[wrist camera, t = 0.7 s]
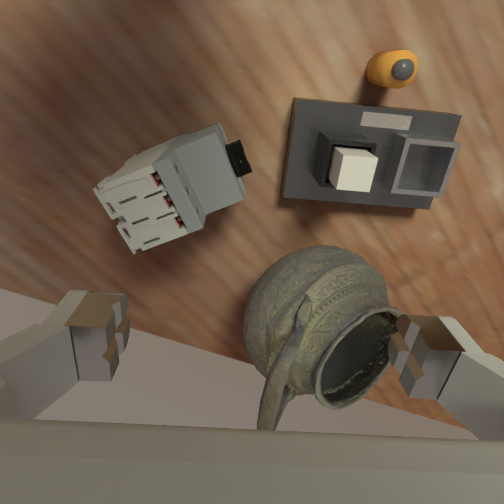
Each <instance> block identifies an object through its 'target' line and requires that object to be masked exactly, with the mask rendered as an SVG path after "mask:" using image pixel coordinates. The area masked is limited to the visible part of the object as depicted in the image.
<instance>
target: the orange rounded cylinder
mask: <svg viewBox="0 0 504 504" xmlns="http://www.w3.org/2000/svg"><path fill="white" fill-rule="evenodd" d="M417 70H418V61H417V58H416V56H415V55H414V54H413V53H412V52H410V51H408V50H399V51H390V52H381V53H378V54H376V55H374V56H373V57H372V58H371V59H370V60H369V62H368V64H367V67H366V77H367V79H368V81H369V82H370V83H371V84H372V85H375V86H381V87H388V88H396V89H399V88H403V87H405V86H407V85H409V84H410V83H411V82H412V81H413V79H414V78H415V76H416V74H417Z"/></svg>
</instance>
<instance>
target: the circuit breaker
mask: <svg viewBox="0 0 504 504" xmlns="http://www.w3.org/2000/svg"><path fill="white" fill-rule="evenodd" d="M250 172H252V169H251V167H250V164H249V162H248V161H247V158H246V156H245V153H244V149H243V146H242V144H241V141H240V140H238V141H236V142H233V143H231V144H228V141H227V139H226V136H225V134H224V131H223V129H222V127H221V124H220V122H218V123H216V124H214V125H211V126H209V127H206V128H204V129H202V130H199V131H197V132H195V133H192V134H191V133H190V131H189V132H187V133H184V134H182V135H180V136H177V137H175V138H173V139H170V140H168V141H165V142H163V143H161V144H158V145H156V146H154V147H151V148H149V149H147V150H144V151H142V152H141V153H140V154H138V155H137V154H135V155H133V157H131V158H129V159H128V160H127V161H126V162H124V166H123V167H122V168H120V169H119V170H118V171H117V172H116V173H114V174H113V175H111V176H108V177H106V178H105V179H103V180H102V181H101V182H100V183H98V184H97V186H98V188H99V189H97V188H96V187H95V188H93V191H94V192H95V194H96V195H97V197H98V199H99V200H100V202H101V203H102V205H103V207H104V208H105V210H106V211H107V213H108V215H109V216H110V218H111V219H115V218H117V217H118V219H119V220H120V221H119V223H118V225H117V229H118V230H119V232H120V234H121V235H122V237H123V238H124V240H125V242H126V243H127V245H128V246H129V248H130V250H131V251H132V253H133V254H136V250H137V249H139V248H141V249H142V251H144V250H147V249H149V248H152V247H155V246H157V245H160V244H163V243H165V242H168V241H171V240H173V239H176V238H179V237H181V236H184V235H187V234H189V233H192V232H195V231H197V230H200V229H202V228H203V227H204V223H205V219H206V215H207V214H209V213H211V212H214V211H217V210H219V209H222V208H224V207H227V206H230V205H232V204H235V203H237V202H240V201H243V200H244V193H247V191H246V188H245V186H244V180H243V178H242V176H243V175H245V174H248V173H250ZM108 202H109V203H110V204H111V206H112V207H113V210H111V209H110V207H109V206H108V204H107V203H108ZM123 228H125V229H126V230H127V232H128V234H127V235H126V233H125V231H124V230H123Z"/></svg>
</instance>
